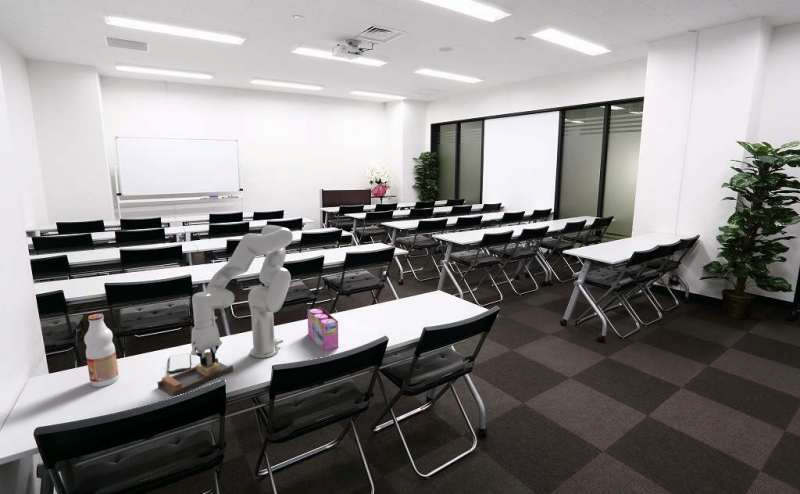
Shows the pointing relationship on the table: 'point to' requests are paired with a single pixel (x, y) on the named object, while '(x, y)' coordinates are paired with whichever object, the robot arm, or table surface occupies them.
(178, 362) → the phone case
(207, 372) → the oak slider
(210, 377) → the slide track
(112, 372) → the fruit juice
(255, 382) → the table surface
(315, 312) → the pink multipack carton
